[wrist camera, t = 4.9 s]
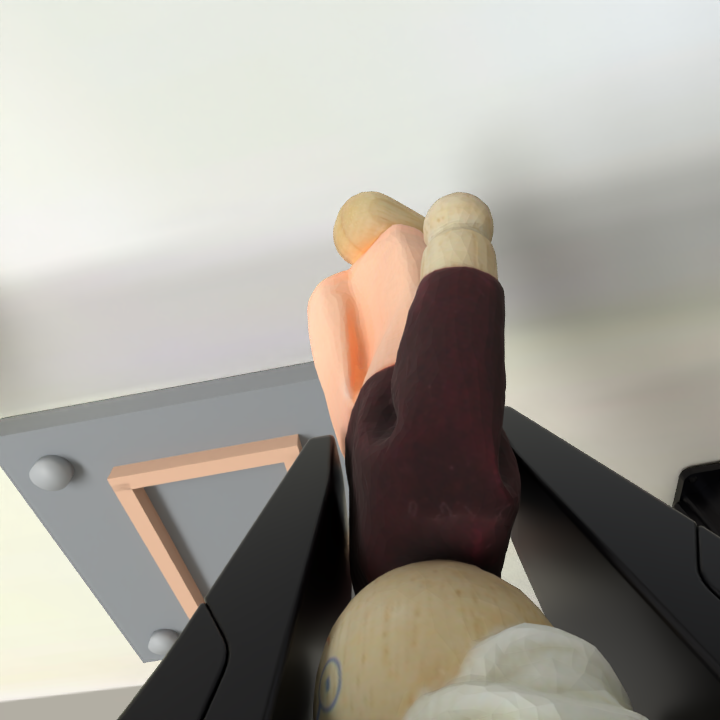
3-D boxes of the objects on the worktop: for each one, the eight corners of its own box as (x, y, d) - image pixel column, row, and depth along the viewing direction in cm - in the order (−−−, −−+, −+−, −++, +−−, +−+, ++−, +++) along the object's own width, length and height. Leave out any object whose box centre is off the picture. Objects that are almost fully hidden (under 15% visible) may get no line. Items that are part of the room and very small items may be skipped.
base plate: (388, 348, 22) (395, 375, 20) (427, 591, 31) (434, 626, 29) (0, 418, 23) (-30, 452, 21) (150, 638, 32) (139, 676, 30)
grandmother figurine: (288, 155, 12) (-303, 1116, 1) (447, 140, 12) (1770, 963, 1) (325, 413, 16) (294, 1189, 5) (445, 402, 16) (690, 1159, 5)
